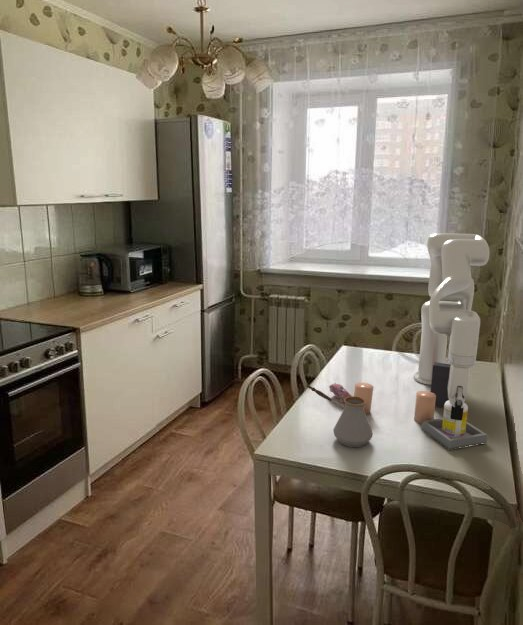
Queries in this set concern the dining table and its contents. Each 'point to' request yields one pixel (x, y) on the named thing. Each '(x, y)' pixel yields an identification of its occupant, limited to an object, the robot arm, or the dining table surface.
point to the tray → (470, 438)
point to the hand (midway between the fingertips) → (455, 412)
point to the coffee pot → (350, 421)
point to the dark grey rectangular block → (440, 383)
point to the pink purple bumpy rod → (339, 391)
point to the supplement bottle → (454, 421)
